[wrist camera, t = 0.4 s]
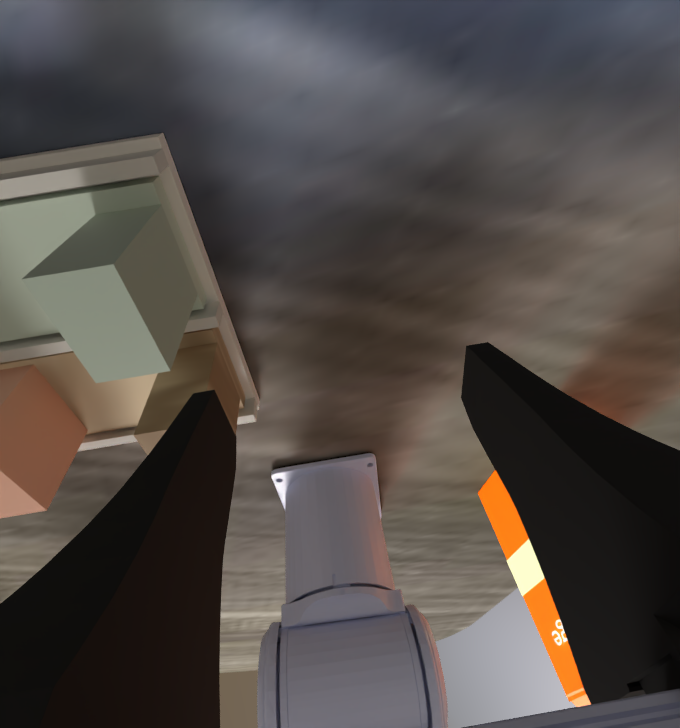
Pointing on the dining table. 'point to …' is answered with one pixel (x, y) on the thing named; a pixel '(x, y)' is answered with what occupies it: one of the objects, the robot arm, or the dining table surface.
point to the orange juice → (532, 584)
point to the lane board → (155, 160)
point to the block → (33, 441)
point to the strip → (99, 275)
